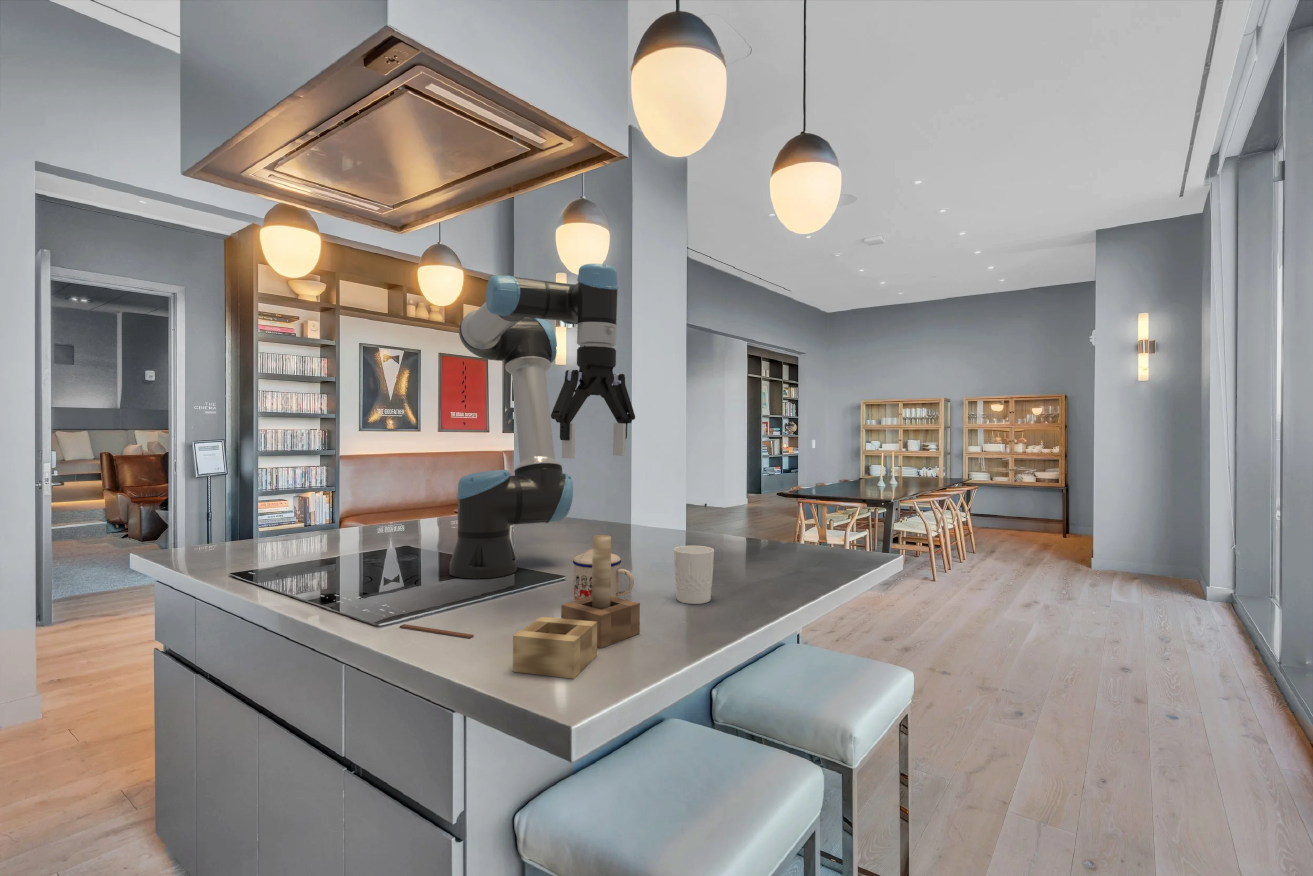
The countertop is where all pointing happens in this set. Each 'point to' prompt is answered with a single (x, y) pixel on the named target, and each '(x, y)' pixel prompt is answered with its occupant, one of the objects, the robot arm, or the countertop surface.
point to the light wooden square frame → (555, 647)
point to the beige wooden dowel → (601, 572)
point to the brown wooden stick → (437, 631)
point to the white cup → (693, 573)
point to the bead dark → (606, 618)
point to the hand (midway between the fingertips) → (594, 457)
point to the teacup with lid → (585, 576)
